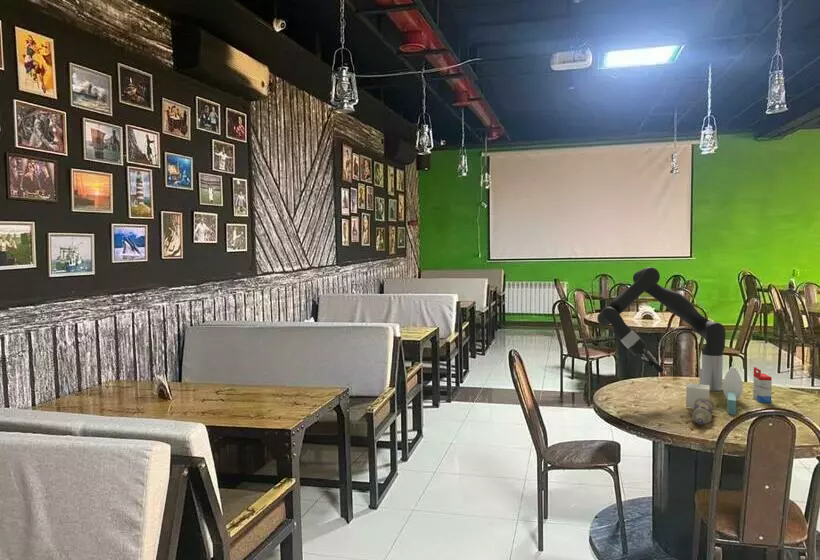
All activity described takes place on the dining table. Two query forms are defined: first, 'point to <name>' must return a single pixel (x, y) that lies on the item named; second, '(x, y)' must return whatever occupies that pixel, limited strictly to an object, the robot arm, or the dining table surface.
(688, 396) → the cream block
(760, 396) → the ink box
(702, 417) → the decorative bottle
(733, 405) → the teal board
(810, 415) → the dining table surface
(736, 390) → the sauce bottle
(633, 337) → the robot arm
